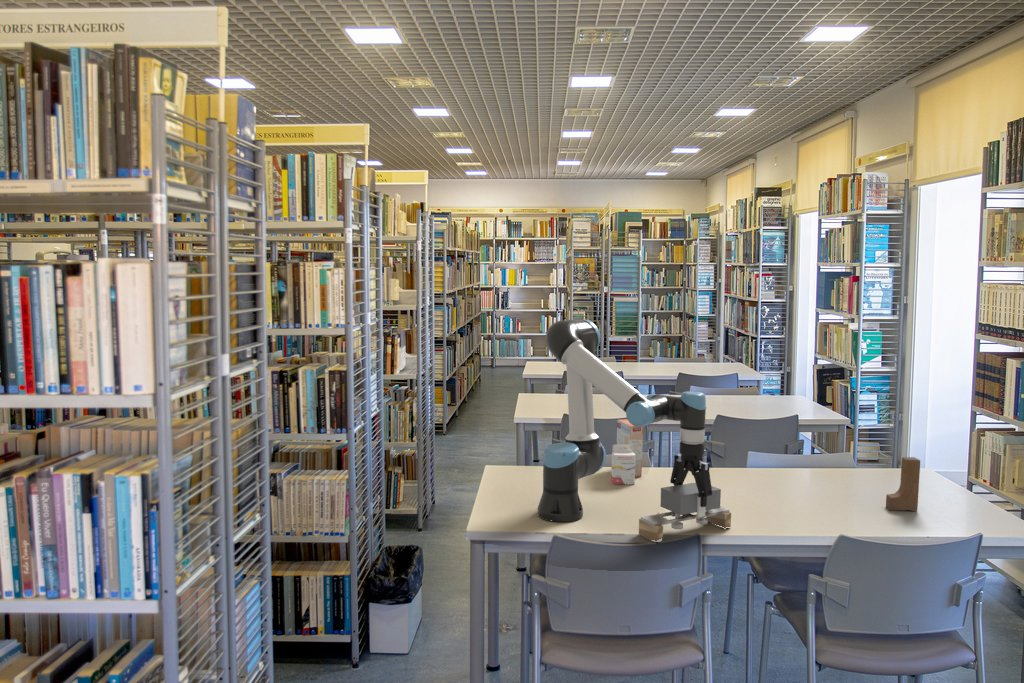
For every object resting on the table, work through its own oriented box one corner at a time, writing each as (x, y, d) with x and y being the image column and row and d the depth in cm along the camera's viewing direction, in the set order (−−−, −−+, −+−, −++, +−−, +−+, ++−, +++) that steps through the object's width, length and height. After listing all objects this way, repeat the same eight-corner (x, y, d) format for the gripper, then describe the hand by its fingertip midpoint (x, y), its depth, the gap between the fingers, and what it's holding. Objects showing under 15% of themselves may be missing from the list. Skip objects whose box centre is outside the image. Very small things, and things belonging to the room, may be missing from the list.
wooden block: (890, 510, 259) (893, 459, 257) (885, 506, 263) (888, 456, 261) (917, 511, 258) (920, 460, 256) (911, 507, 262) (914, 457, 261)
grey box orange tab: (679, 533, 228) (680, 493, 227) (659, 524, 237) (661, 485, 235) (719, 525, 236) (720, 487, 234) (699, 516, 244) (700, 479, 243)
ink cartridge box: (612, 485, 287) (613, 447, 285) (610, 481, 292) (611, 444, 290) (635, 485, 287) (636, 447, 286) (632, 481, 292) (633, 444, 290)
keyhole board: (656, 543, 225) (656, 524, 224) (638, 534, 232) (639, 516, 232) (730, 528, 239) (731, 510, 238) (712, 520, 246) (712, 503, 246)
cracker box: (642, 477, 298) (643, 425, 296) (628, 478, 297) (629, 425, 295) (629, 468, 311) (630, 418, 310) (615, 468, 310) (616, 419, 308)
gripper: (726, 447, 226) (724, 520, 228) (678, 433, 245) (676, 500, 247) (707, 450, 222) (705, 524, 224) (659, 435, 242) (658, 503, 244)
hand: (689, 511), depth 236 cm, fingers closed on grey box orange tab, 9 cm apart
